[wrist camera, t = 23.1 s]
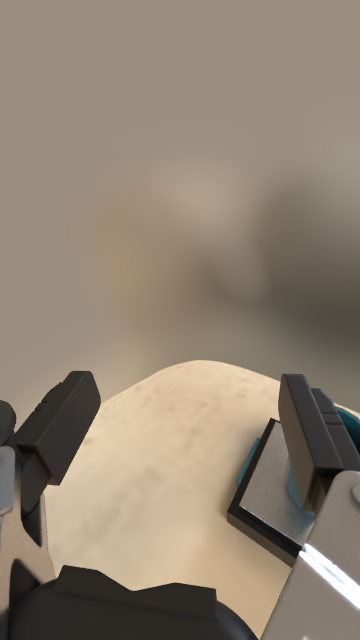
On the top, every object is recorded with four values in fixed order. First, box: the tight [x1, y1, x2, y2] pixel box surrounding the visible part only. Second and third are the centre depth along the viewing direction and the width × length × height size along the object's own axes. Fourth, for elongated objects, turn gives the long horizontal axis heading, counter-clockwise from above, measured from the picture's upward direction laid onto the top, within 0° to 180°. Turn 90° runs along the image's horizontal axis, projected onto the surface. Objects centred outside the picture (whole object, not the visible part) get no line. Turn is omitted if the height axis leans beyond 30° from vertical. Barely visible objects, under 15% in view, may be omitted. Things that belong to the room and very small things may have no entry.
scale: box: [227, 418, 316, 568], centre depth 30 cm, size 16×15×3 cm
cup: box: [285, 406, 360, 517], centre depth 27 cm, size 7×7×10 cm
